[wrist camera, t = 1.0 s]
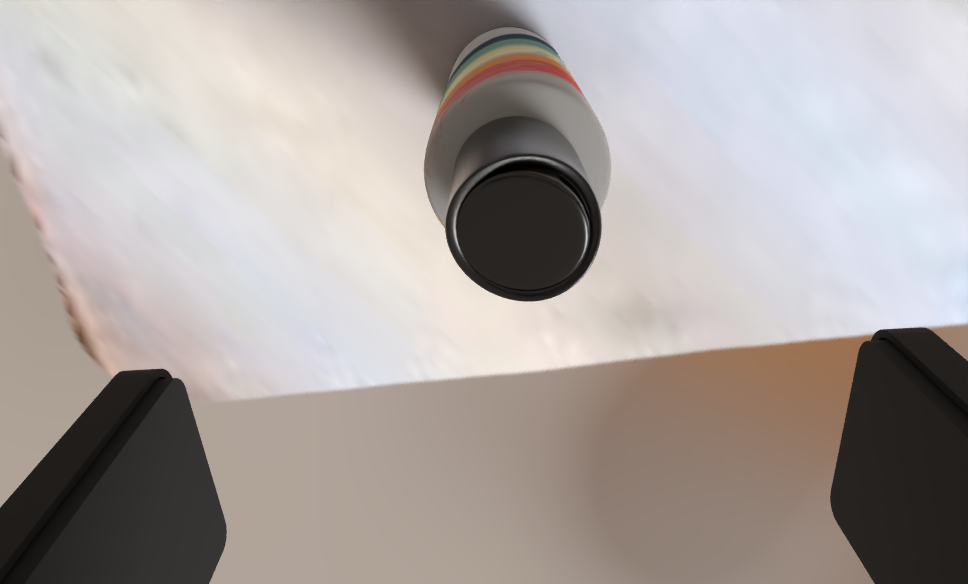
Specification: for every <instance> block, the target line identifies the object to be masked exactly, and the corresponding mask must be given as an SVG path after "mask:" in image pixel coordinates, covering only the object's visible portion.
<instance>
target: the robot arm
mask: <svg viewBox="0 0 968 584" xmlns="http://www.w3.org/2000/svg"><path fill="white" fill-rule="evenodd" d="M830 500H831V507H832V512H833V515H834V518H835V520H836V521H837V523H838V525H839V526H840V528H841V530H842V531H843V533H844V535H845V536H846V538H847V539H848V541H849V543H850V544H851V546H852V547H853V549H854V550H855V552H856V554H857V556H858V557H859V559H860V560H861V562H862V564H863V565H864V567H865V568H866V570H867V572H868V573H869V575H870V577H871V578H872V580H873V582H874V583H875V584H968V361H967V360H966V359H964V358H963V357H962V356H961V355H960V354H959V353H957V352H956V351H955V350H954V349H953V348H951V347H950V346H949V345H948V344H947V343H946V342H944V341H943V340H942V339H941V338H940V337H938V336H937V335H936V334H935V333H934V332H933V331H931V330H929V329H927V328H902V329H884V330H879V331H877V332H876V333H875V334H874V336H873V337H872V339H871V341H866V342H864V343H863V344H862V345H861V347H860V349H859V353H858V358H857V363H856V368H855V373H854V378H853V383H852V388H851V393H850V398H849V403H848V408H847V413H846V418H845V423H844V428H843V433H842V438H841V444H840V448H839V454H838V459H837V463H836V468H835V473H834V479H833V483H832V488H831V496H830ZM226 533H227V532H226V523H225V519H224V515H223V512H222V509H221V505H220V502H219V498H218V495H217V492H216V488H215V485H214V482H213V478H212V475H211V472H210V468H209V465H208V462H207V458H206V455H205V452H204V448H203V445H202V441H201V438H200V435H199V431H198V428H197V425H196V421H195V418H194V415H193V411H192V408H191V404H190V401H189V398H188V394H187V391H186V388H185V385H184V383H183V382H182V381H181V380H180V379H178V378H172V376H171V375H170V373H169V372H168V371H167V370H165V369H149V370H131V371H121V372H119V373H118V374H117V375H115V377H114V378H113V379H112V380H111V381H110V382H109V384H108V385H107V386H106V387H105V388H104V389H103V390H102V392H101V393H100V394H99V395H98V397H96V398H95V399H94V401H93V402H92V403H91V404H90V405H89V406H88V408H87V409H86V410H85V411H84V412H83V413H82V414H81V416H80V417H79V418H78V419H77V421H75V423H74V424H73V425H72V426H71V427H70V428H69V429H68V431H67V432H66V433H65V434H64V435H63V436H62V438H61V439H60V440H59V441H58V442H57V443H56V444H55V445H54V447H53V448H52V449H51V450H50V451H49V453H48V454H47V455H46V456H45V457H44V458H43V460H41V462H40V463H39V464H38V465H37V466H36V467H35V468H34V470H33V471H32V472H31V473H30V474H29V475H28V477H27V478H26V479H25V480H24V481H23V482H22V484H21V485H20V486H19V487H18V488H17V489H16V490H15V492H14V493H13V494H12V495H11V496H10V497H9V498H8V500H7V501H6V502H5V503H4V504H3V505H2V506H1V508H0V584H209V582H210V580H211V578H212V575H213V573H214V571H215V568H216V566H217V564H218V562H219V559H220V557H221V555H222V552H223V550H224V547H225V542H226Z"/></svg>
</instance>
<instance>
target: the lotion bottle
mask: <svg viewBox="0 0 968 584" xmlns="http://www.w3.org/2000/svg"><path fill="white" fill-rule="evenodd" d="M610 178H611V156H610V150H609V145H608V141H607V139H606V136H605V133H604V131H603V128H602V126H601V124H600V122H599V120H598V118H597V116H596V115H595V113H594V111H593V110H592V108H591V106H590V105H589V103H588V101H587V100H586V98H585V97H584V95H583V93H582V92H581V90H580V88H579V87H578V85H577V84H576V82H575V80H574V79H573V77H572V75H571V74H570V72H569V71H568V69H567V67H566V66H565V64H564V63H563V61H562V59H561V58H560V56H559V55H558V53H557V52H556V51H555V49H554V48H553V47H552V46H551V45H550V44H549V43H548V42H547V41H546V40H544V39H543V38H542V37H540V36H539V35H537V34H535V33H533V32H531V31H528V30H525V29H521V28H515V27H503V28H497V29H493V30H490V31H487V32H485V33H483V34H481V35H480V36H478V37H476V38H475V39H474V40H472V41H471V42H470V43H469V44H468V45H467V46H466V47H465V48H464V49H463V51H462V52H461V53H460V55H459V57H458V58H457V60H456V62H455V64H454V66H453V69H452V72H451V74H450V77H449V80H448V83H447V86H446V89H445V92H444V95H443V98H442V101H441V104H440V107H439V109H438V112H437V115H436V118H435V121H434V124H433V127H432V130H431V133H430V137H429V141H428V144H427V148H426V154H425V161H424V179H425V186H426V190H427V194H428V198H429V201H430V203H431V206H432V208H433V210H434V212H435V214H436V216H437V218H438V219H439V221H440V222H441V224H442V225H443V226H444V228H445V232H446V239H447V243H448V246H449V249H450V251H451V253H452V255H453V257H454V259H455V261H456V262H457V264H458V265H459V267H460V268H461V269H462V270H463V272H464V273H465V274H466V275H467V276H468V277H469V278H470V279H471V280H473V281H474V282H475V283H476V284H478V285H479V286H481V287H482V288H484V289H485V290H487V291H489V292H491V293H493V294H495V295H498V296H501V297H503V298H507V299H511V300H516V301H541V300H545V299H549V298H552V297H555V296H557V295H560V294H562V293H564V292H565V291H567V290H569V289H570V288H571V287H573V286H574V285H575V284H576V283H577V282H579V281H580V279H581V278H582V277H583V276H584V275H585V274H586V272H587V271H588V270H589V268H590V266H591V265H592V263H593V261H594V259H595V256H596V254H597V251H598V248H599V244H600V239H601V229H602V224H601V213H600V211H601V209H602V207H603V205H604V202H605V199H606V197H607V193H608V190H609V185H610Z"/></svg>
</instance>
